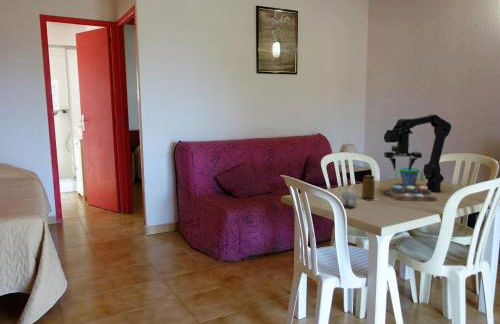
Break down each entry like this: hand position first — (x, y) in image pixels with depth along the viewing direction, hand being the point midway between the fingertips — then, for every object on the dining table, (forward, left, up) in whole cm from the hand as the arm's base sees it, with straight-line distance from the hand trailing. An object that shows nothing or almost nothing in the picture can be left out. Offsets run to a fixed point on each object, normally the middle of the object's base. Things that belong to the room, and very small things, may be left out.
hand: (401, 170), depth 218 cm
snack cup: (-11, -24, -13) cm, 29 cm away
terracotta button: (-10, +7, -9) cm, 15 cm away
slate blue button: (+3, +7, -9) cm, 12 cm away
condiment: (+20, +14, -13) cm, 28 cm away
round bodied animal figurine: (+32, +31, -13) cm, 47 cm away
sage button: (-3, +7, -9) cm, 12 cm away
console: (-3, +10, -13) cm, 17 cm away
